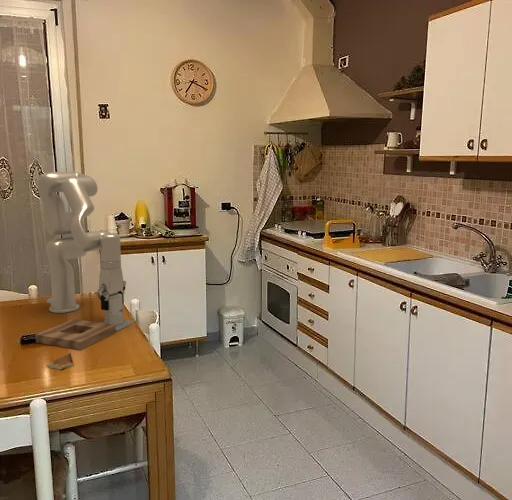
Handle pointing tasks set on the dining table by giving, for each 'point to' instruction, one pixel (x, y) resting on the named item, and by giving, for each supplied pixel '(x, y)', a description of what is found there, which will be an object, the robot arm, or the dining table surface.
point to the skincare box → (114, 309)
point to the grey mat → (122, 325)
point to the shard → (61, 362)
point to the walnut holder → (67, 339)
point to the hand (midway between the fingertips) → (112, 306)
